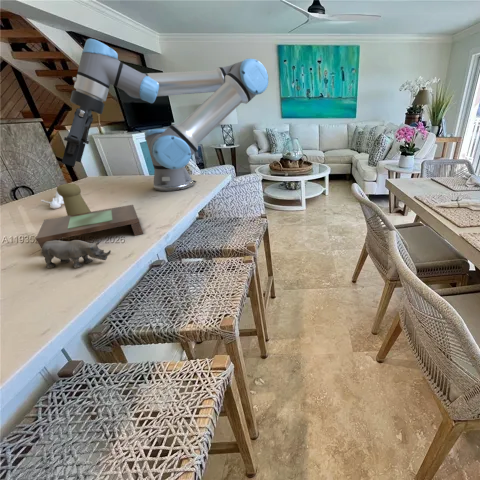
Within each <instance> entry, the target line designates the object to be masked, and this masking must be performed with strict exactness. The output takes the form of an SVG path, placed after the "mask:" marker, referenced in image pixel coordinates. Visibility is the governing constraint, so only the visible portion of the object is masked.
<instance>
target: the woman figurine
mask: <svg viewBox="0 0 480 480" xmlns="http://www.w3.org/2000/svg"><path fill="white" fill-rule="evenodd" d="M40 202H41V203H46V204H48V205H49V208H51V209H52V210H56V209H60V208H62V205H64V201H63V197H62V196H61V195H59V194H58V192H57V189H56V191H55V194H54V197H52V200H51V201H47V200H44V199H40Z"/></svg>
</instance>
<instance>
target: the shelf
mask: <svg viewBox="0 0 480 480" xmlns="http://www.w3.org/2000/svg"><path fill="white" fill-rule="evenodd" d="M128 225H131V229H132V232H133V235H134V236H140V235H144V231H143V228H142V225H141V223H140V219H139V217H138V214H137V211H136V208H135V207H134V204H128V205H122V206H115V207H111V208H104V209H100V210H94V211H91V212H87V213H81V214H75V215H69V216H67V215H65V216H59V217H53V218H46V219H44V220H43V222H42V224H41V226H40V228H39V230H38V233H37V234H36V236H35V240H36V242H37V244H38V246H39V248H40V249H42V247H43V245H44V243H45V242H46V241H54V240H60V241H61V239H66V238H71V237H75V236H80V235H85V234H90V233H95V232H100V231H105V230H110V229H114V228H119V227H124V226H128Z"/></svg>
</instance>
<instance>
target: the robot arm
mask: <svg viewBox="0 0 480 480" xmlns="http://www.w3.org/2000/svg"><path fill="white" fill-rule="evenodd" d="M118 57H119V53H118V52H117V51H115V49H113V48H112V47H109V46H108V45H107V44H105V43H104V42H101V41H100V40H97V39H94V38H87V39H86V40H85V43H84V47H83V50H82V52H81V57H80V60H79V64H78V69H77V73H76V76H73V77H72V80H73V81H74V84H73V88H74V89H73V90H72V91H71V94H70V99H69V101H70V103H72V104H73V105H76V106H79V108H76V109H75V111H74V115H73V116H74V117H73V119H72V122H71V126H70V128H69V129H70V130H69V132H68V134H67V136H64V138H63V141H65V142H66V144H65V149H64V152H63V156H62V160H61V164H64V165H67V166H70V167H75V166H76V162H77V163H81V162H82V159H83V155H84V151H85V148H86V145H89V143H90V140H88V137H89V133H90V129H91V127H92V123H93V122H94V117H93V116H94V115H93V114H92V112H93V113H95V114H99V115H102V114H103V112H104V108H105V103H104V102H107V98H108V96H109V95H108V94H109V92H110V86H114V87H115V88H118V89H120V90H122V91H124V93H125V94H126V95H127V96H129V97H130V98H133V99H140V100H142V101H143V102H147V103H150V104H154V103H155V101H156V99H157V97H168V96H181V95H192V94H193V95H194V94H205V93H211V95H210V96H208V98H206V99H205V100H204V101H203V102H201V104H200V105H199V106H198V107H197V108H195V110H193V111H192V112H191V113H190V114H189V115H188V116H186V117H185V118H184V119H183V120H182V121H181V122H180V123H179V124H174V123H171V125H170V126H168V127H167V128H157V129H156V128H155V129H147V130H145V131H144V140H145V141H146V145H147V148H148V152H149V156H150V160H151V163H152V166H153V170H154V173H153V188H154V190H155V191H158V192H174V191H182V190H187V189H189V188H191V187H193V186H194V183H197V181H196V180H194V179H193V178H192V176H191V175H190V173H189V171H188V170H187V168H186V167H187V165H188V164H189V163H190V161H191V159H192V156H194V154H196V152H197V151H199V144H200V143H201V142H202V140H204V139H205V138H206V137H207V136H208V135H209V134H210V133H211V132H212V131H213V130H214V129H215V128H217V126H219V125H220V124H221V123H222V122H223V121H224V120H225V119H226V118H228V116H229V115H230V114H231V113H232V112H234V110H235V109H237V108H238V107H239V106H240V105H241V104H245V105H247V104H249V102H251V101H252V100H253V99H254V98H255V97H256V96H257V95H261V94H263V93H264V92H265V91H266V90H267V88H268V86H269V74H268V70H267V69H266V67H265V65H264V64H263V63H262V62H261V61H259V60H258V59H255V58H246V59H244V60H242V61H238V62H234V63H233V64H230V65H226V66H219V67H216V68H215V70H214V69H213V70H193V71H192V70H191V71H190V70H189V71H171V72H170V71H169V72H167V71H166V72H149V73H147V72H146V73H143V72H141V71H139V70H136V69H135V68H133V67H131V66H129V65H127V64H125V63H123V62H122V61H120V60H119V58H118Z"/></svg>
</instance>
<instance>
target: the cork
mask: <svg viewBox="0 0 480 480" xmlns="http://www.w3.org/2000/svg"><path fill="white" fill-rule="evenodd" d="M56 190H57V192H58V194H59V195H61V196H62V197H63V201H64V204H63V205H64V208H65V212H66V216H69V215H75V214H81V213H87V212H92V211H91V210H90V208H89V206H88V204H87V203H86V201H85V200H84V198H83V196H82V195H81V192H82V190H81V187H80V186H79V185H78V183H74V182H73V183H72V182H71V183H63V184H60V185H57V187H56Z"/></svg>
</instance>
